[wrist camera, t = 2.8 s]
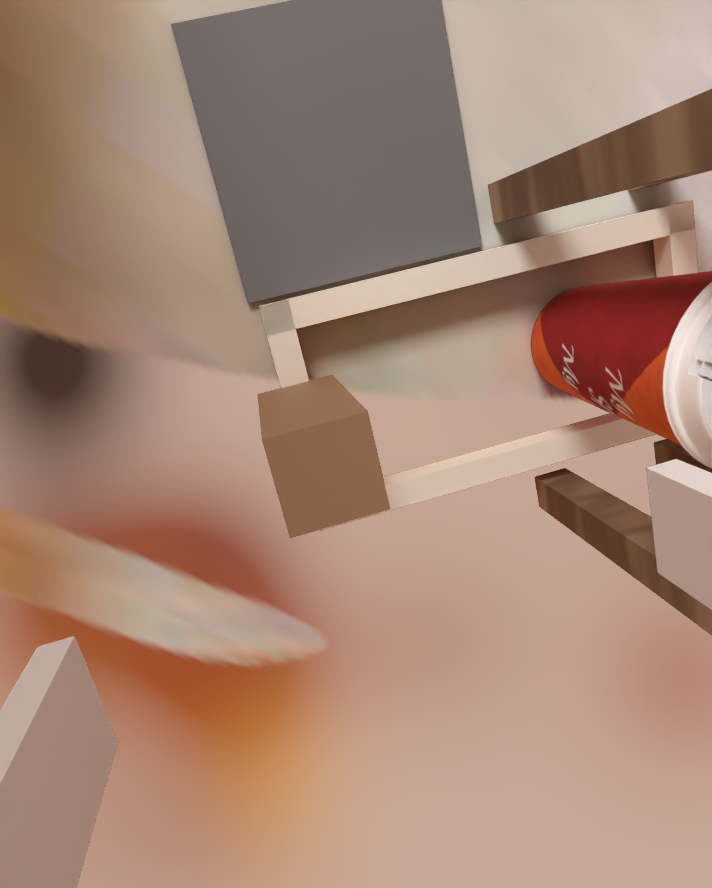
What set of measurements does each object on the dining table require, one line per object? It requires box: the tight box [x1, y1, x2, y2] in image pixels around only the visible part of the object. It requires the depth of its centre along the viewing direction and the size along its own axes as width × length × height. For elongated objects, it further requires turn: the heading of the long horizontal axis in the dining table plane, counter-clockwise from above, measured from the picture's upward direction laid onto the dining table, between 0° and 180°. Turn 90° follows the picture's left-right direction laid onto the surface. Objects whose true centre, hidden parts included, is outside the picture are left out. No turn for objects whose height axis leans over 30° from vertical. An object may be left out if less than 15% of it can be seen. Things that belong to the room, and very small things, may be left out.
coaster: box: [171, 0, 482, 303], centre depth 31 cm, size 13×13×1 cm
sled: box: [258, 200, 698, 538], centre depth 30 cm, size 25×12×12 cm, turn 103°
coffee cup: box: [531, 271, 712, 468], centre depth 29 cm, size 8×8×15 cm
